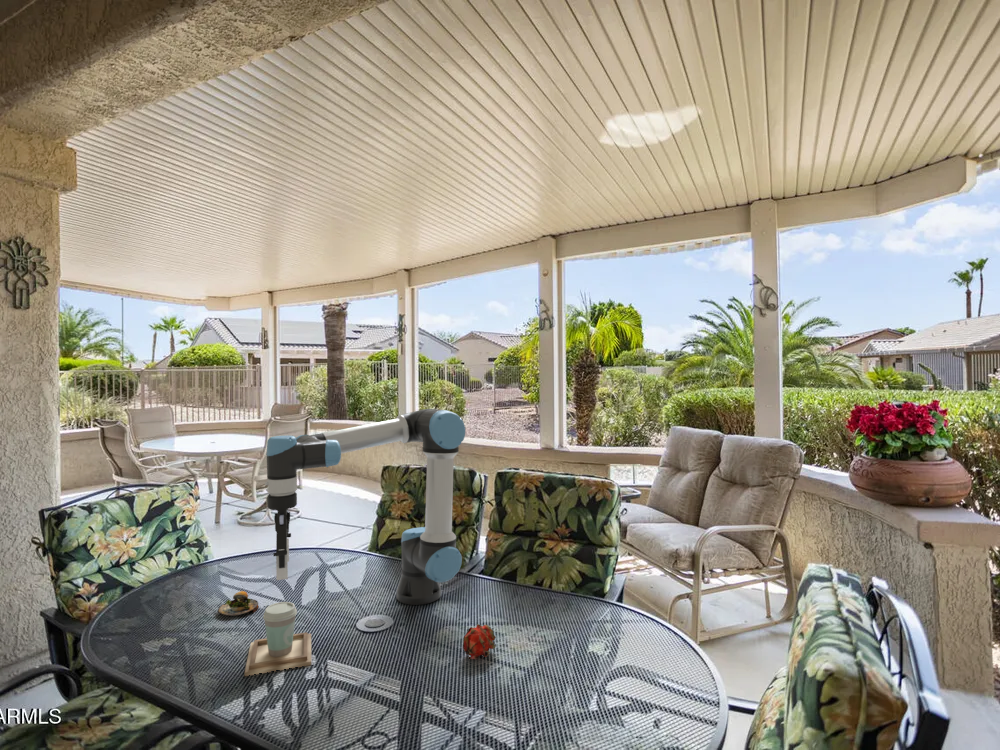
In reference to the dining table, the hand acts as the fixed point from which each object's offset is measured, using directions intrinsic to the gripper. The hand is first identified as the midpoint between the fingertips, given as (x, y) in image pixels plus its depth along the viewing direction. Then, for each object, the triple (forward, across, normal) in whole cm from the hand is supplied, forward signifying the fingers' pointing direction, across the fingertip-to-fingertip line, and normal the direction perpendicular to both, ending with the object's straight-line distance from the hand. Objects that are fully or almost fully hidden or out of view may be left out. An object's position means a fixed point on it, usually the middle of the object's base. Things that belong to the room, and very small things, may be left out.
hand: (283, 570), depth 149 cm
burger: (+23, -33, -15) cm, 43 cm away
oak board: (+23, +1, -1) cm, 23 cm away
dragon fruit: (+24, +20, +50) cm, 59 cm away
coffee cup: (+22, +1, -1) cm, 22 cm away
